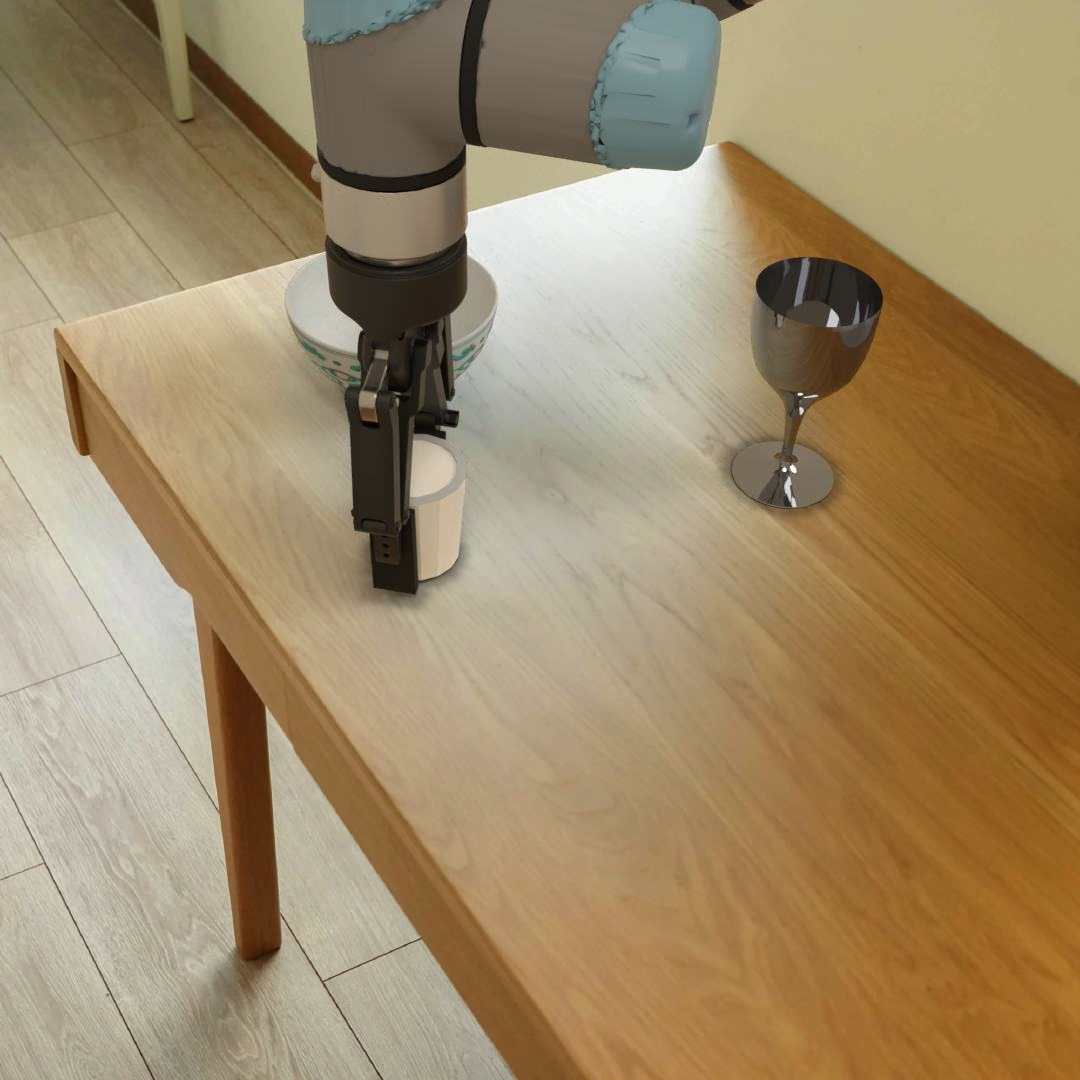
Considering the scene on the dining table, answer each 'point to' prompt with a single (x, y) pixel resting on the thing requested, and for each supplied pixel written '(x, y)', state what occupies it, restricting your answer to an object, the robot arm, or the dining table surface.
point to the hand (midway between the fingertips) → (411, 546)
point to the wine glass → (804, 366)
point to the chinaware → (337, 335)
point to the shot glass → (437, 502)
